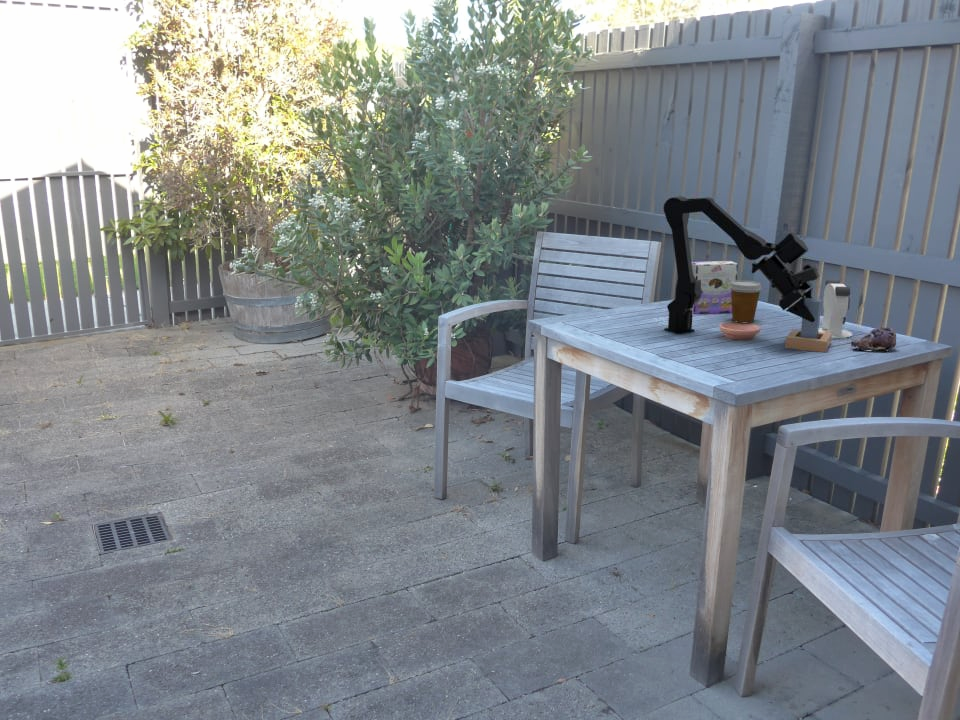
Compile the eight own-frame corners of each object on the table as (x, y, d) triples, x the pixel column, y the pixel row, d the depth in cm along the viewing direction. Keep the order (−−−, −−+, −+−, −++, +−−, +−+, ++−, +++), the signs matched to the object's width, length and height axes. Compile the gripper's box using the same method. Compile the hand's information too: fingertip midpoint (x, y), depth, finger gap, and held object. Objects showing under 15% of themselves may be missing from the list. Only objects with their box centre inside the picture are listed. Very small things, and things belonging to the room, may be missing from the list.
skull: (855, 353, 225) (858, 331, 224) (843, 346, 233) (846, 324, 231) (900, 353, 225) (903, 331, 224) (886, 345, 233) (889, 324, 231)
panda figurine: (858, 339, 239) (864, 287, 235) (817, 338, 240) (823, 287, 236) (845, 329, 251) (850, 280, 247) (806, 328, 252) (811, 279, 248)
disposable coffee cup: (762, 324, 257) (766, 286, 254) (731, 324, 257) (734, 286, 254) (753, 317, 266) (757, 280, 263) (723, 317, 267) (726, 280, 263)
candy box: (728, 309, 278) (732, 260, 274) (734, 313, 273) (738, 263, 268) (687, 310, 277) (690, 260, 273) (693, 314, 272) (696, 263, 267)
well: (784, 347, 231) (786, 337, 230) (791, 339, 239) (792, 329, 239) (825, 352, 226) (826, 341, 225) (830, 343, 234) (832, 333, 234)
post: (799, 346, 232) (804, 300, 228) (801, 343, 235) (806, 297, 232) (814, 348, 230) (819, 301, 226) (816, 345, 233) (821, 299, 230)
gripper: (796, 260, 220) (836, 306, 218) (807, 251, 235) (845, 293, 233) (762, 287, 226) (801, 332, 223) (775, 276, 241) (812, 318, 239)
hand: (816, 318), depth 230 cm, fingers open, 9 cm apart
